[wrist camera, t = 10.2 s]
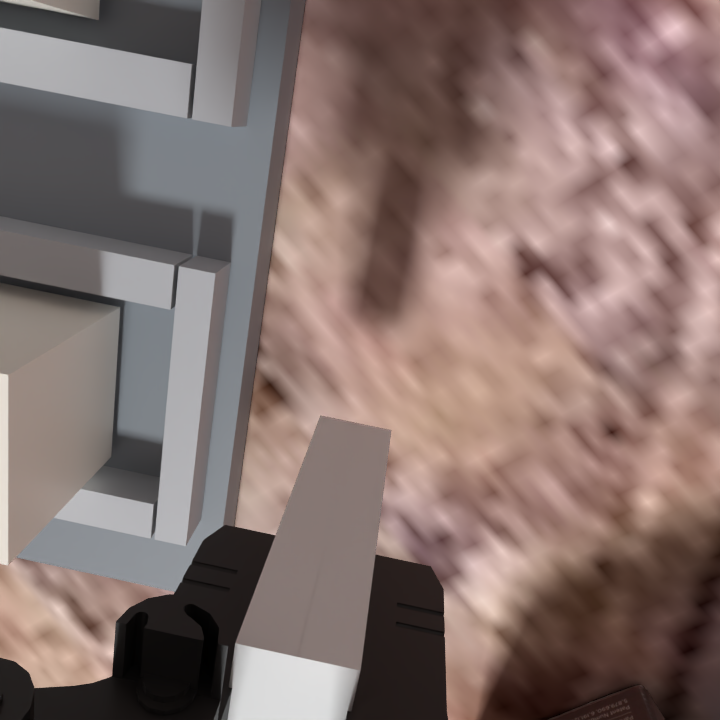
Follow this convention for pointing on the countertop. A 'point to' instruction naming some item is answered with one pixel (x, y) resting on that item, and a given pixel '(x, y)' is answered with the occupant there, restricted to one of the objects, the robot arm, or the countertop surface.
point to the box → (617, 707)
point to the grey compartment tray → (151, 245)
